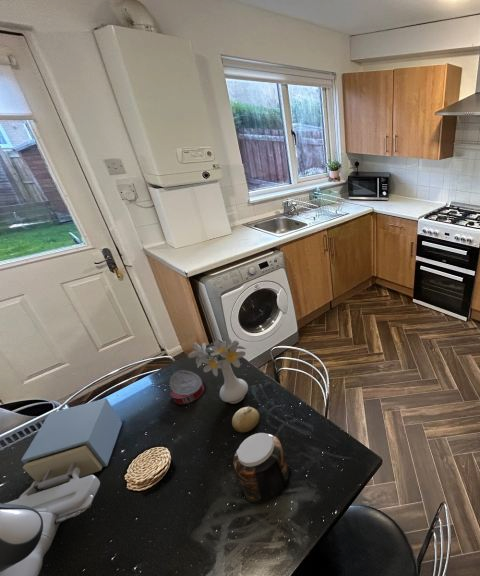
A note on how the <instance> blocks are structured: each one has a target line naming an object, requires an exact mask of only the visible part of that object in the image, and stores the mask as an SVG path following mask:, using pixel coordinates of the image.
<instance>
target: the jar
mask: <svg viewBox="0 0 480 576" xmlns="http://www.w3.org/2000/svg"><path fill="white" fill-rule="evenodd" d="M284 452H285V451H284V449H283V446H282V443H281V442H280V439H279V438H278V437H277V436H276V435H273V434H271V433H265V432H258V433H254V434H252V435H250V436H248V437H246V438H245V439H244V440H243V441H242V442H241V443H240V445H239V447H238V448H237V449H236V451H235V453H234V455H233V460H232V463H233V464H232V465H233V469H234V470H233V471H234V473H235V475H236V478H237V481H238V483H239V485H240V488H241V490H242V493H243V495H244V496H245V498H246V499H247V500H248V501H249V502H251V503H255V504H263V503H267V502H269V501H271V500H273V499H275V498H276V497H277V496H279V494H281V492H282V491H284V489H285V487H287V484H288V482H289V476H290V472H289V466H288V463H287V459H286V456H285V453H284Z"/></svg>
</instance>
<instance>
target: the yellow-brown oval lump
mask: <svg viewBox="0 0 480 576" xmlns="http://www.w3.org/2000/svg"><path fill="white" fill-rule="evenodd" d="M259 421H260V413H259V412H258V410H257V409H256V408H254V407H252V406H250V405H249V404H248V405H247V406H244V407H241V408H239V409H238V410H237V411H236V412H235V413H234V414H233V416H232V419H231V425H232V428H233V430H235V431H236V432H238V433H248V432H251V431H252V430H253V429H254V428H255V427H256V426H257V425H258V423H259Z"/></svg>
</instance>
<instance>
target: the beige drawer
mask: <svg viewBox="0 0 480 576" xmlns="http://www.w3.org/2000/svg"><path fill="white" fill-rule="evenodd" d="M34 460H35V461H32V462H29V463H26V464H23V466H22V469H23V470H24V471H25V472H26V473H27V474H28V475H29V476H30V478H31V479H33V480H34V481H37V480H40V479H42V482H40V483H38V489H40V490H42V489H43V490H47V489H50V488H53V487H56V486H59V485H62V484H65V483H68V482H69V481H70V479H71V478H70V477H69V476H68V473H69V471H70V470H71V469H74V468H79V469H80V473H79V476H78V477H79V478H83V477H86V476H89V475H92V474H95V473H97V472H100V471H102V469H103V468H102V465H101V464H100V462H99V461H98V459H97V458H96V457H95V455H94V454H93V453H92V452H91V450H90V449H89V448H88V446H87V445H86V444H83V445H79V446H76V447H73V448H69V449H66V450H63V451H59V452H56V453H53V454H49V455H46V456H43V457H39V458H36V459H34Z"/></svg>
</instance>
